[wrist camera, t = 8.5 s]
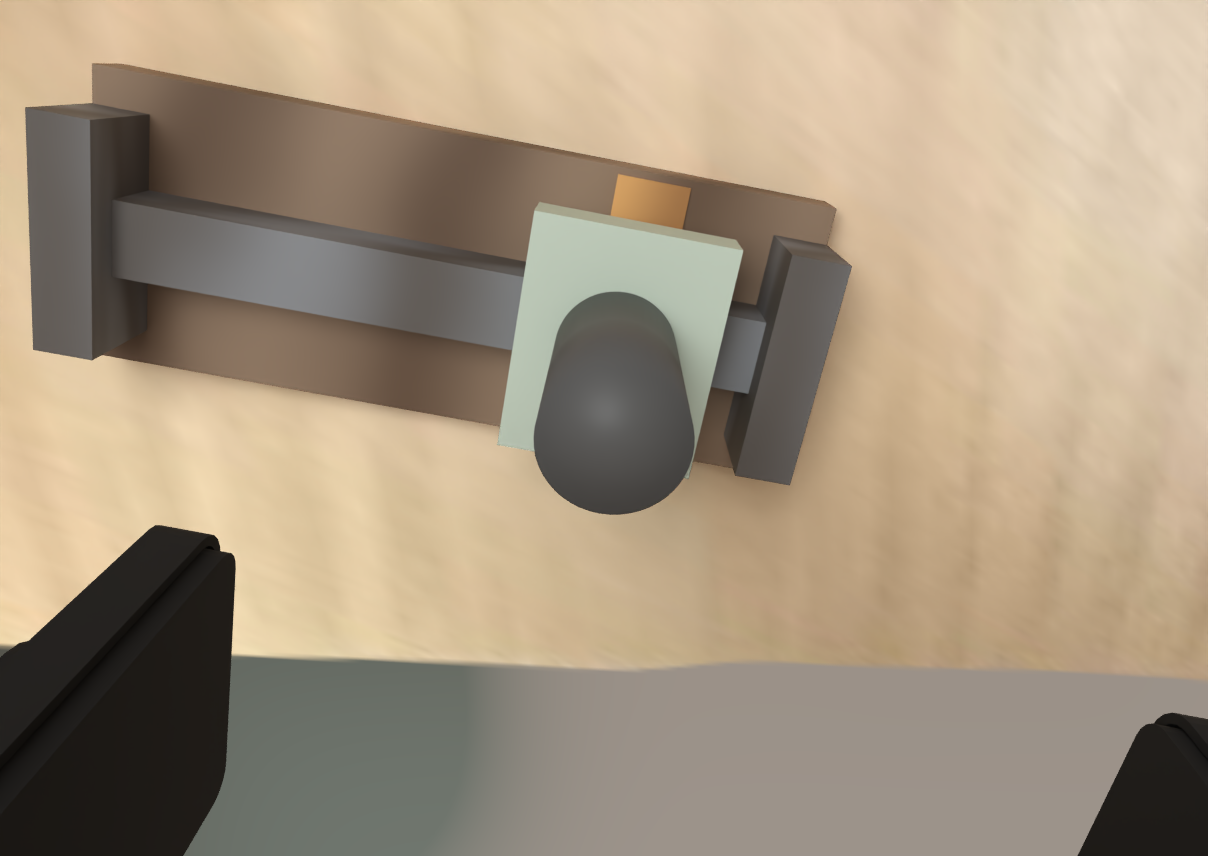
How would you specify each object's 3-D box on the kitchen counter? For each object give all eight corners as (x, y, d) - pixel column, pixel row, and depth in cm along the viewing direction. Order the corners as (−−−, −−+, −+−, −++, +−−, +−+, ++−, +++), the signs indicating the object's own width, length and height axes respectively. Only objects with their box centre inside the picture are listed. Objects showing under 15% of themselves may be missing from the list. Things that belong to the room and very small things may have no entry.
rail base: (825, 201, 27) (863, 225, 23) (757, 454, 30) (780, 518, 25) (120, 63, 26) (23, 62, 22) (120, 339, 29) (34, 385, 24)
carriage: (727, 227, 25) (785, 311, 16) (680, 430, 27) (709, 601, 19) (545, 192, 25) (504, 258, 16) (512, 399, 27) (460, 559, 18)
